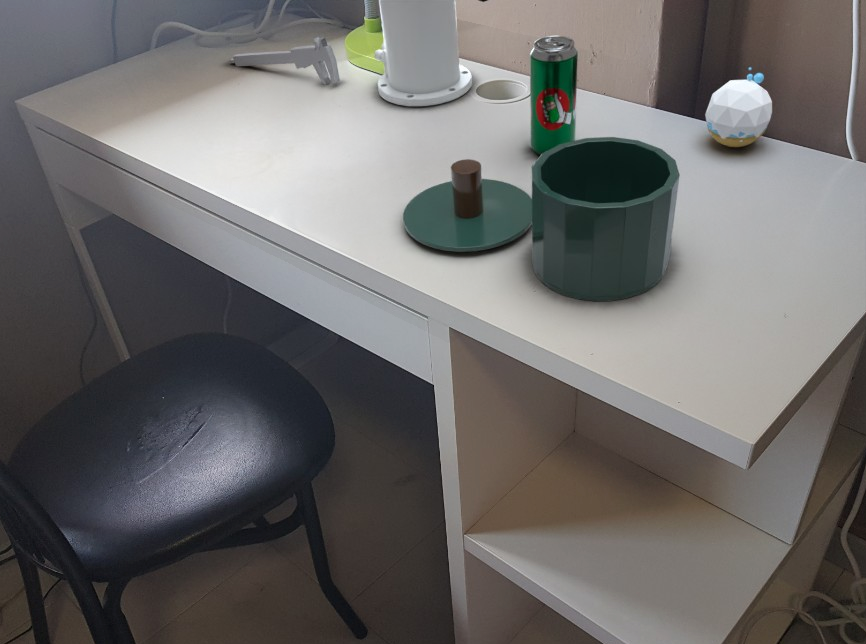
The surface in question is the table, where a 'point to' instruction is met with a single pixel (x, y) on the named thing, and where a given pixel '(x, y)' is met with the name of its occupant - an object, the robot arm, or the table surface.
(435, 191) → the lid
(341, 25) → the table surface
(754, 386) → the table surface
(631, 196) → the pot
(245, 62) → the caliper
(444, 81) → the robot arm
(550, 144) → the soda can
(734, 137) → the ornament
